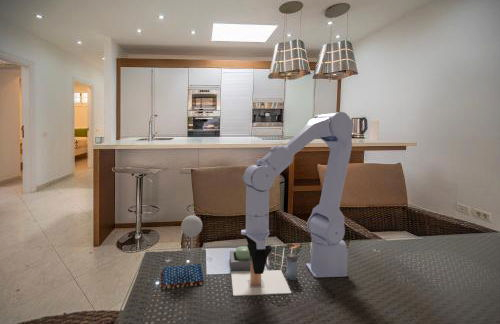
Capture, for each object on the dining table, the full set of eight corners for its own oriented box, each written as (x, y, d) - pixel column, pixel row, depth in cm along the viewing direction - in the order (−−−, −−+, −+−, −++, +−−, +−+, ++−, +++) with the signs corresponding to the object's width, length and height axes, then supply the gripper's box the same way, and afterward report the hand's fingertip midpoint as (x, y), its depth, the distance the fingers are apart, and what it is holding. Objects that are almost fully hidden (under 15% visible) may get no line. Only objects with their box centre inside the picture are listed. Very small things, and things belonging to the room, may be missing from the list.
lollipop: (197, 273, 81) (197, 219, 79) (177, 270, 82) (177, 218, 80) (205, 263, 87) (205, 213, 85) (186, 261, 88) (186, 212, 87)
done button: (251, 255, 89) (251, 246, 89) (253, 262, 85) (253, 252, 84) (235, 256, 89) (235, 246, 89) (236, 262, 84) (236, 252, 84)
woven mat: (162, 272, 82) (161, 265, 82) (200, 268, 85) (200, 262, 84) (160, 292, 72) (160, 284, 72) (204, 287, 75) (204, 279, 74)
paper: (280, 270, 83) (280, 270, 83) (291, 293, 71) (291, 292, 71) (231, 272, 82) (231, 271, 82) (233, 296, 70) (233, 295, 70)
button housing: (255, 258, 91) (255, 250, 91) (259, 269, 83) (259, 261, 83) (229, 258, 90) (229, 250, 90) (230, 270, 83) (231, 262, 82)
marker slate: (295, 274, 81) (296, 253, 80) (298, 279, 78) (298, 257, 77) (284, 275, 81) (285, 253, 80) (287, 280, 78) (288, 258, 77)
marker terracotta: (260, 280, 77) (260, 254, 76) (262, 286, 74) (263, 259, 73) (249, 281, 76) (249, 254, 76) (250, 286, 74) (251, 259, 73)
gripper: (239, 206, 80) (238, 254, 82) (243, 222, 66) (243, 280, 67) (264, 206, 81) (264, 254, 82) (274, 221, 67) (273, 279, 68)
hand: (256, 266), depth 75 cm, fingers open, 7 cm apart
